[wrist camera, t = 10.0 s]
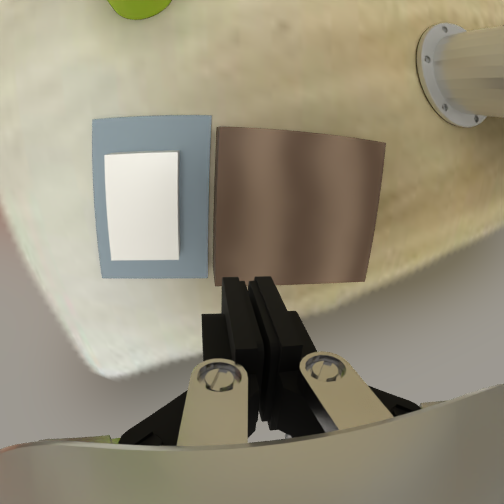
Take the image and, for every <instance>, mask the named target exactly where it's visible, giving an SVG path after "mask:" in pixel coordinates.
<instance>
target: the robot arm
mask: <svg viewBox="0 0 504 504" xmlns="http://www.w3.org/2000/svg"><path fill="white" fill-rule="evenodd" d="M417 68H418V74H419V78H420V82H421V85H422V87H423V90H424V93H425V95H426V97H427V98H428V100H429V102H430V104H431V105H432V107H433V108H434V109H435V111H436V112H437V113H438V114H439V115H440V116H441V117H442V118H443V119H445V120H446V121H447V122H449V123H451V124H453V125H455V126H460V127H474V126H477V125H479V124H480V123H482V122H483V121H484V120H485V118H486V117H487V116H491V117H500V118H504V25H502V26H495V27H489V28H483V29H477V30H472V31H466V30H465V29H463V28H462V27H460V26H458V25H455V24H452V23H440V24H436V25H433V26H431V27H430V28H428V29H427V30H426V31H425V32H424V34H423V35H422V37H421V39H420V41H419V45H418V49H417ZM202 342H203V362H202V363H200V364H198V365H197V366H196V367H195V368H194V369H193V371H192V373H191V377H190V382H189V387H188V390H187V391H186V392H184V393H183V394H181V395H180V396H178V397H177V398H175V399H174V400H173V401H171V402H170V403H168V404H167V405H166V406H164V407H162V408H161V409H159V410H158V411H156V412H155V413H153V414H152V415H150V416H149V417H148V418H146V419H145V420H143V421H141V422H140V423H138V424H137V425H135V426H134V427H132V428H131V429H129V430H128V431H127V432H125V433H124V434H123V435H122V436H121V438H116V439H111V437H110V435H107V436H96V437H82V438H64V439H45V440H39V441H35V442H29V443H21V444H15V445H12V446H8V447H5V448H2V449H0V504H504V384H499V385H495V386H491V387H487V388H483V389H481V390H478V391H475V392H472V393H469V394H466V395H463V396H460V397H457V398H455V399H451V400H448V401H438V402H428V403H421V404H420V406H418V405H416V404H415V403H413V402H411V401H409V400H406V399H403V398H400V397H397V396H395V395H392V394H389V393H386V392H384V391H381V390H378V389H376V388H373V387H370V386H368V385H367V384H366V383H365V382H364V381H363V380H362V378H361V377H360V376H359V375H358V374H357V372H356V371H355V370H354V369H353V368H352V366H351V365H350V364H349V363H348V362H347V361H346V360H345V359H343V358H342V357H340V356H339V355H337V354H333V353H330V352H317V350H316V348H315V346H314V345H313V342H312V341H311V339H310V337H309V335H308V333H307V331H306V329H305V327H304V325H303V323H302V321H301V319H300V317H299V315H298V313H297V312H296V311H287V309H286V307H285V305H284V303H283V301H282V299H281V296H280V294H279V292H278V290H277V288H276V286H275V284H274V282H273V279H272V277H271V276H258V277H255V278H254V281H249V283H248V290H247V287H246V284H245V281H239V277H222V314H202ZM258 412H259V413H260V417H261V420H262V421H268V425H269V429H270V430H280V431H282V432H284V433H286V435H285V439H281V440H273V441H263V442H254V443H247V439H248V437H249V436H250V435H251V434H252V433H253V432H254V431H255V428H256V422H257V420H258Z"/></svg>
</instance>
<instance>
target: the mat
mask: <svg viewBox="0 0 504 504" xmlns="http://www.w3.org/2000/svg"><path fill="white" fill-rule="evenodd" d="M211 117H212V116H211V115H165V116H137V117H119V118H105V119H94V120H93V121H92V163H93V190H94V206H95V219H96V231H97V241H98V250H99V258H100V266H101V274H102V278H208V203H209V166H210V139H211ZM166 150H180V161H179V215H180V255H179V260H111V252H110V243H109V232H108V220H107V207H106V189H105V160H104V155H107V154H110V153H116V152H135V151H166Z"/></svg>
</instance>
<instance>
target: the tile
mask: <svg viewBox="0 0 504 504" xmlns="http://www.w3.org/2000/svg"><path fill="white" fill-rule="evenodd" d="M104 160H105V189H106V207H107V220H108V232H109V243H110V252H111V260H179V255H180V215H179V161H180V150H166V151H135V152H116V153H110V154H107V155H104Z"/></svg>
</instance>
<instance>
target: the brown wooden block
mask: <svg viewBox="0 0 504 504" xmlns="http://www.w3.org/2000/svg"><path fill="white" fill-rule="evenodd" d="M385 147H386V143H383V142H377V141H371V140H365V139H358V138H351V137H344V136H336V135H328V134H319V133H310V132H300V131H289V130H276V129H261V128H243V127H217V132H216V156H215V185H214V225H213V272H214V280H215V286H222V277H239V281H245V284H246V286H248V283H249V281H254V278H255V277H258V276H271V277H272V279H273V282H274V284H275V285H293V284H320V283H344V282H365V278H366V273H367V268H368V263H369V258H370V253H371V247H372V242H373V236H374V230H375V224H376V218H377V211H378V204H379V197H380V190H381V182H382V174H383V166H384V157H385Z"/></svg>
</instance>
